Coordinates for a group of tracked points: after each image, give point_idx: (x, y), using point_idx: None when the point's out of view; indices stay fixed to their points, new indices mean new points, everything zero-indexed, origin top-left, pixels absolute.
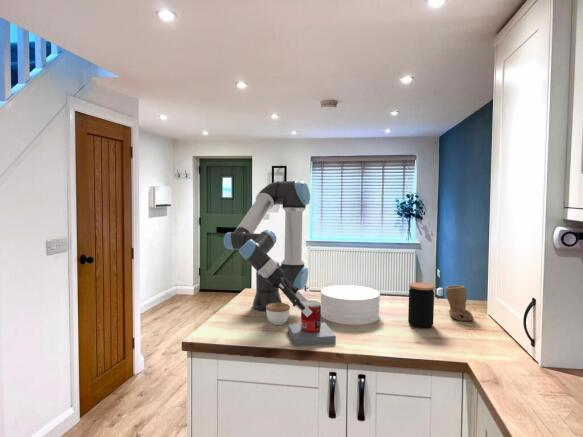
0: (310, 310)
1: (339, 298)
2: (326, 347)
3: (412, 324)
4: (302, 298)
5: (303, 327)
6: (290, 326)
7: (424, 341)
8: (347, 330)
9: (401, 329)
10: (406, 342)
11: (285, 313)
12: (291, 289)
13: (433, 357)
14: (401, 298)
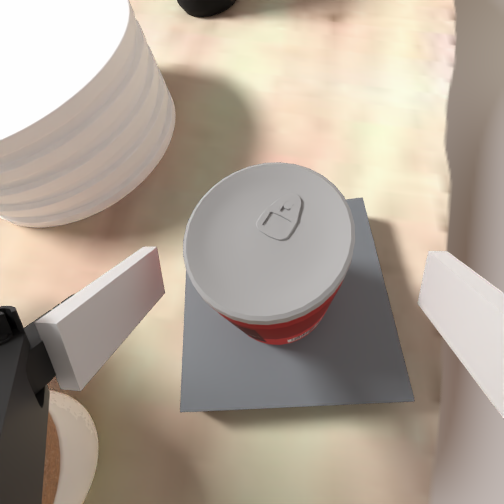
0: (458, 260)
1: (78, 89)
2: (399, 253)
3: (219, 6)
4: (126, 293)
5: (307, 333)
6: (220, 403)
7: (328, 7)
8: (224, 160)
9: (236, 35)
10: (336, 38)
11: (69, 425)
12: (22, 462)
13: (439, 5)
14: None
